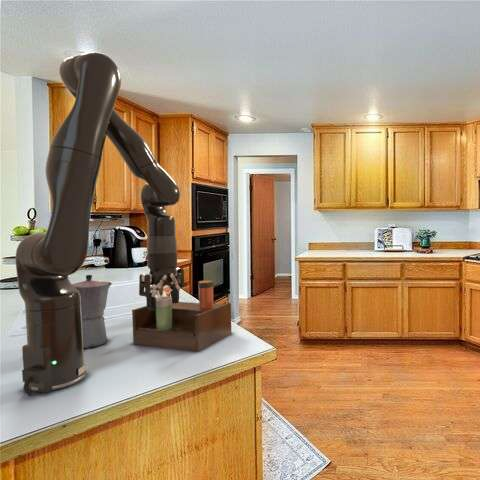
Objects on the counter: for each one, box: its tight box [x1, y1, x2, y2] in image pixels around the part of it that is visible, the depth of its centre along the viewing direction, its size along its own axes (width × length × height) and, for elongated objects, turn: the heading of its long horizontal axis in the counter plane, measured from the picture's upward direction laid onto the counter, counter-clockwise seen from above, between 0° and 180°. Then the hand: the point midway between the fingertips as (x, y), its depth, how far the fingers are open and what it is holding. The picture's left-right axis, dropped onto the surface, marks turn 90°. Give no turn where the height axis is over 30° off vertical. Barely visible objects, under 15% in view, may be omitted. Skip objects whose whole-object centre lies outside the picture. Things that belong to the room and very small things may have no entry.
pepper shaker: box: [197, 279, 214, 309], centre depth 108 cm, size 4×4×8 cm
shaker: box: [156, 296, 173, 330], centre depth 103 cm, size 4×4×9 cm
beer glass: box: [151, 285, 172, 298], centre depth 129 cm, size 7×7×15 cm
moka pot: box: [71, 274, 113, 349], centre depth 100 cm, size 10×15×20 cm, turn 164°
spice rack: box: [131, 301, 232, 352], centre depth 106 cm, size 15×22×10 cm
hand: (163, 306), depth 102 cm, fingers open, 8 cm apart
